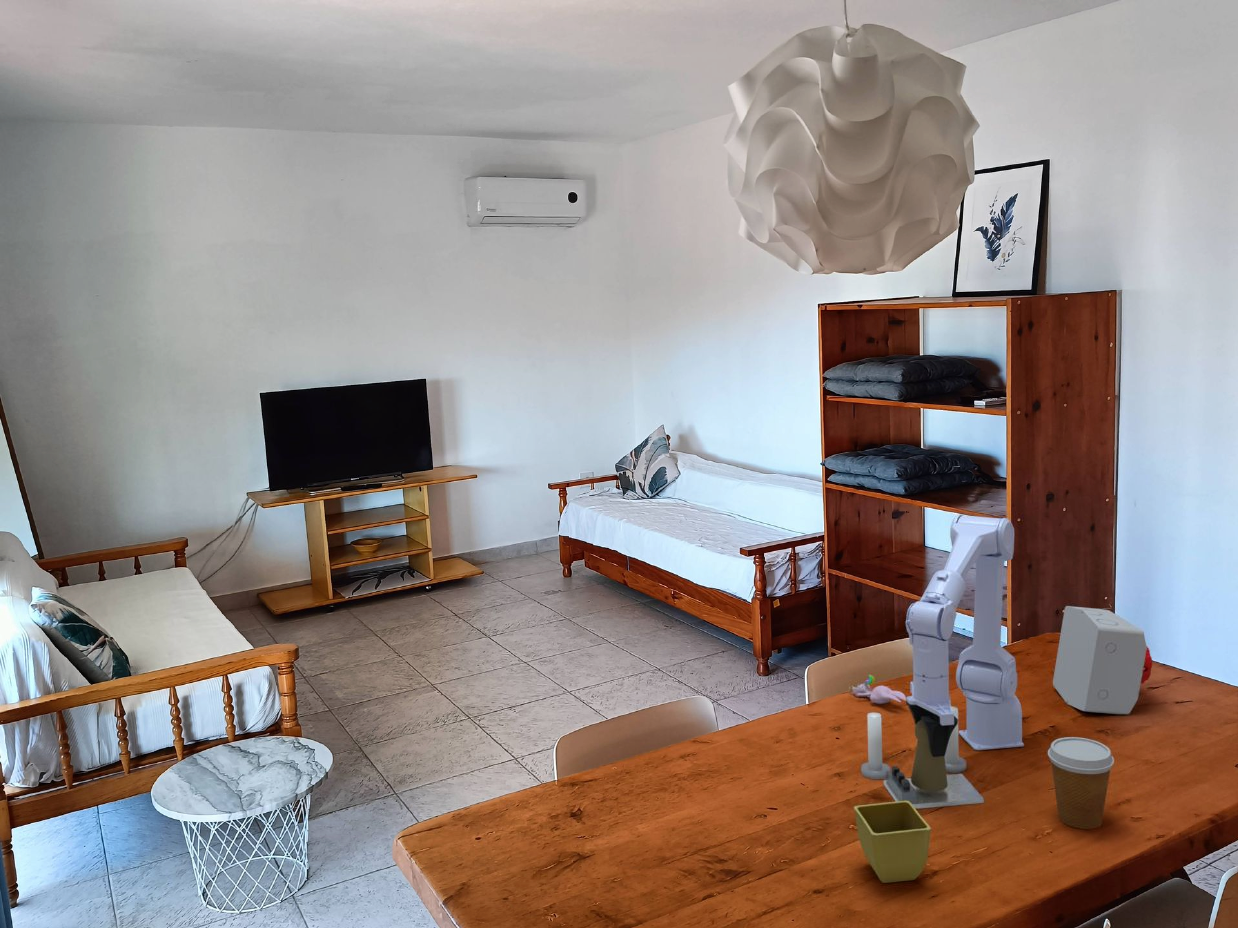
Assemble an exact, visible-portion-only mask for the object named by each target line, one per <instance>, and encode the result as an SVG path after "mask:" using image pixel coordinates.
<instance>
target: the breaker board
mask: <svg viewBox="0 0 1238 928" xmlns="http://www.w3.org/2000/svg"><path fill="white" fill-rule="evenodd" d="M946 775H947V784H948V786H947V788H945V789H944V790H940V791H926V790H922V789H920V788H917V787H916V786H914V785H913V784H912V783H911V777H909V778H907V777H906V776H905V774H904V773H903V772H902V771H901V769H900V767H899V766H898V765H893V766H891V769H890V771H886V778H885V779H886V780H885V779H883V786H884V787H885V789H886V790H887V791H888V793H889V794H890V796H891V798H893V800H894V802H897V801H909V802H910V803H911V804H912V805H913V806H914V808H915V809H916V810H917V809H918V810H919V809H928V808H941V807H949V806H950V807H951V806H952V807H953V806H961V805H962V806H963V805H975V804H984V797H983V796H982V795H981V794H980V793H979V792H978V790H977V789H976V788H975V787H974V786H973V784H972V783H971V782H970V781H969V780H968V779H967V778H966V776H964V774H962V773H952V774H946Z"/></svg>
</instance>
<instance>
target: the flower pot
mask: <svg viewBox="0 0 1238 928" xmlns="http://www.w3.org/2000/svg"><path fill="white" fill-rule="evenodd" d="M853 811H854V815H855V816H854V817H855V823H856V829H857V835H858V840H859V843H860V846H861V848H862V850H863V853H864V856H865V858H866V859H867V862H868V863H869V865H870V866H871V868H872V870H873V871H874V872H875V874H876V876H877V878H878V879H879V881H880V882H881V883H883V884H888V883H897V882H905V881H914V880H916V879H917V878H918V877H919V876H920V874H921V873H922V871H923V870H924V868H925V865H926V863H927V861H928V856H929V849H930V848H929V847H930V839H931V831H932V827H931V826H930V825H929V823H927V821H926V820H925V819H924V818H923V817H922V816H921V815H920V813H919V811H918V810H917V809H915V808H914V806H913V805H912V804H911V803H910V802H909V801H897V802H896V801H890V802H889V801H888V802H881V803H869V804H862V805H855V806H854V807H853Z"/></svg>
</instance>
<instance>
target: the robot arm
mask: <svg viewBox="0 0 1238 928" xmlns="http://www.w3.org/2000/svg"><path fill="white" fill-rule="evenodd" d="M949 533H950V534H949V536H950V541H951V549H950V552H949V555H948V557H947V559H946V562H945V565H944V568H943V569H941V570H937V571H936V572H935V573H934V574H933V576H932V578H931V579H930V581H929V583H928V585H927V587H926V588H925V590H924V592H923V594H922V596H921V598H920V600H917V601H916V602H913V603H911V604H910V605H909V607H908V609H907V612H906V621H905V627H906V632H907V634H908V636H909V637H908V639H909V640H908V642H909V644H910V645H911V646H912V672H913V673H912V675H913V677H912V678H913V679H912V681H910V684H909V685H910V687H909V689H910V693H911V694H912V695H911V696H910V695H909V696H906V701H905V702H906V705H907V707H908V709H909V710H910V713H911V715H912V719H913V722H914V725H915V726H916V724H917V723H918V722H919V721H920V720H922V721H923V723H924V725H925V728H926V731H927V734H928V740H929V747H930V752H931V755H932V756H933V757H940V756H945V753H946V750H947V746H948V742H949V739H950V736H951V734H952V732H953V730H954V728H955V727H956V725H957V724H958V725H959V718H958V719H957V718H956V717H955V716H954V713H953V712H952V710H951V706H952V704H951V696H950V691H949V690H950V687H949V686H950V685H949V684H950V683H949V682H950V681H949V679H950V675H949V674H950V673H949V671H950V669H949V662H950V660H949V639H950V638H951V636H952V634H953V632H954V629H955V622H956V618H957V611H956V610H957V608H958V605H959V603H960V601H961V600H962V597H963V596H964V594H965V592H966V590H967V586H966V582H965V580H964V579H965V578H966V576H967V575H968V573H969V572H970V570H971V569H972V568H973V565H974V564H975V579H974V580H975V581H974V583H975V584H974V609H973V611H974V612H973V634H972V645H971V644H970V645H969V646H968V647H965V649H963V650H962V651H961V652H960V653H959V657H958V664H957V667H956V673H955V681H956V684H957V686H958V689H959V690H961V691H962V696H964V697H966V699H965V700H966V729H965V730H963V729H962V730H958V735H960V736H961V738H962V739H964V741H965V742H966V743H968V745H970V746H971V747H972V749H973V750H975V751H981V750H982V751H983V750H995V749H1005V748H1007V749H1010V748H1018V747H1021V748H1022V747H1024V746H1025V743H1023V711H1022V706H1021V702H1020V700H1019V699H1018V697H1017V696H1016V694H1015V693H1016V692H1017V691H1016V690H1017V687H1018V673H1017V667H1016V664H1017V663H1016V658H1015V657H1014V656H1013V655H1012V654H1011V653H1009V652H1008V651H1007V650H1006V649H1005V648H1004V647H1003V646H1002V644H1001V640H1002V639H1001V637H1002V635H1001V634H1002V615H1003V614H1002V612H1003V588H1004V587H1003V586H1004V569H1005V567H1004V566H1005V563H1006V562H1007V561H1011V560H1012V559H1013V557H1014V552H1015V551H1014V550H1015V548H1014V547H1015V528H1014V526H1013V523H1012V522H1011V520H1010V519H1009V518H1007V517H1003V518H996V517H987V516H986V517H985V516H976V515H975V516H974V515H964V514H961V513H960V514H959V513H958V514H957V515H956V516H955V517H954V518H953V519H952V522H951V525H950V532H949ZM915 726H914V727H915Z"/></svg>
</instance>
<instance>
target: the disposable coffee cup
mask: <svg viewBox="0 0 1238 928" xmlns="http://www.w3.org/2000/svg"><path fill="white" fill-rule="evenodd" d="M1047 755H1048V757H1049V760H1050V762H1051V771H1052V777H1053V778H1052V779H1053V785H1054V792H1055V793H1054V794H1055V800H1056V807H1057V809H1056V810H1057V815H1058V819H1059V820H1060V822H1062V823H1063V824H1065V825H1067V826H1069V827H1071V828H1076V829H1081V830H1092V829H1096V828H1099V827H1100V826H1101V825H1102V823H1103V817H1104V816H1103V815H1104V811H1105V805H1106V804H1105V803H1106V797H1107V791H1108V786H1109V781H1110V780H1109V779H1110V773H1111V769H1112V767H1113V766H1114V764H1115V758H1114V756H1113V755H1112V753H1111V749H1110V748H1109V747H1108V746H1107V745H1105V744H1103V743H1101V742H1100V741H1097V740H1094V739H1090V738H1085V737H1078V736H1076V737H1075V736H1071V737H1070V736H1069V737H1068V736H1067V737H1066V736H1065V737H1060V738H1057V739H1055V740H1053V741H1052V742H1051V744H1050V748H1049V749H1048V750H1047Z"/></svg>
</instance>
